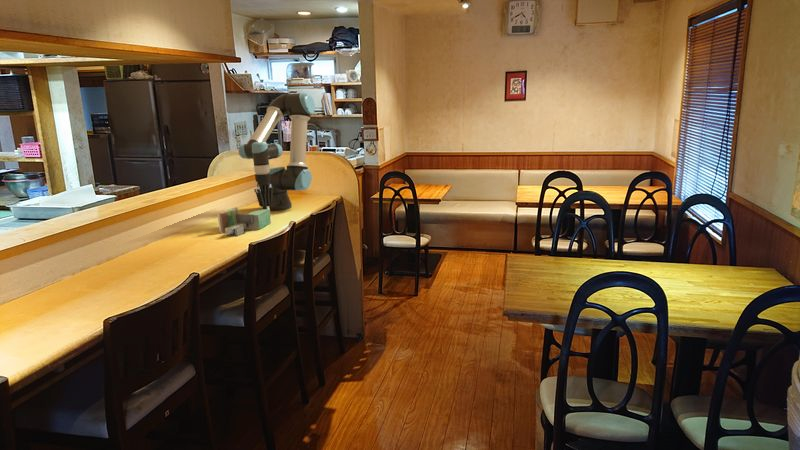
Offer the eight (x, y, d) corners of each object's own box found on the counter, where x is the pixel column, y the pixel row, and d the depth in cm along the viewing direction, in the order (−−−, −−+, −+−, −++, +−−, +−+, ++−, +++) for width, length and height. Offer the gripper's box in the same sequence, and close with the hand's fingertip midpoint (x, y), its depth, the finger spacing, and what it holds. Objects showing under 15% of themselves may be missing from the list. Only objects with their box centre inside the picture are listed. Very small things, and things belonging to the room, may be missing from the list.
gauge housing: (238, 226, 264) (235, 207, 262) (257, 228, 259) (255, 208, 257) (217, 234, 251) (214, 214, 248) (237, 236, 246) (234, 215, 243)
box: (271, 223, 268) (269, 208, 266) (259, 230, 255) (257, 215, 254) (258, 223, 270) (256, 208, 268) (245, 230, 257) (243, 215, 255)
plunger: (234, 225, 259) (233, 213, 258) (254, 226, 254) (252, 214, 253) (215, 232, 247) (213, 219, 246) (235, 234, 243) (233, 221, 241)
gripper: (264, 171, 272) (269, 215, 278) (248, 175, 261) (253, 221, 267) (276, 171, 269) (281, 216, 275) (260, 175, 258) (265, 222, 264)
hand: (267, 218), depth 271 cm, fingers closed
